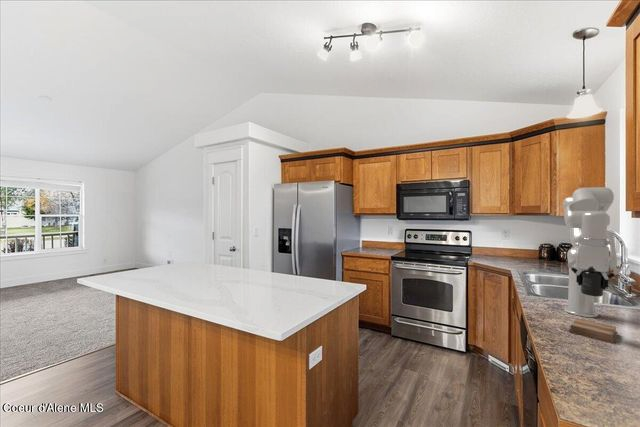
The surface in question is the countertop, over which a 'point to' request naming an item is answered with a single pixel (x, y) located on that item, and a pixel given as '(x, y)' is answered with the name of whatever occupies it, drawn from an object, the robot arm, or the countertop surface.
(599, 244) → the robot arm
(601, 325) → the walnut pedestal
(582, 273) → the supplement bottle
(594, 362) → the countertop surface
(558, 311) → the countertop surface
